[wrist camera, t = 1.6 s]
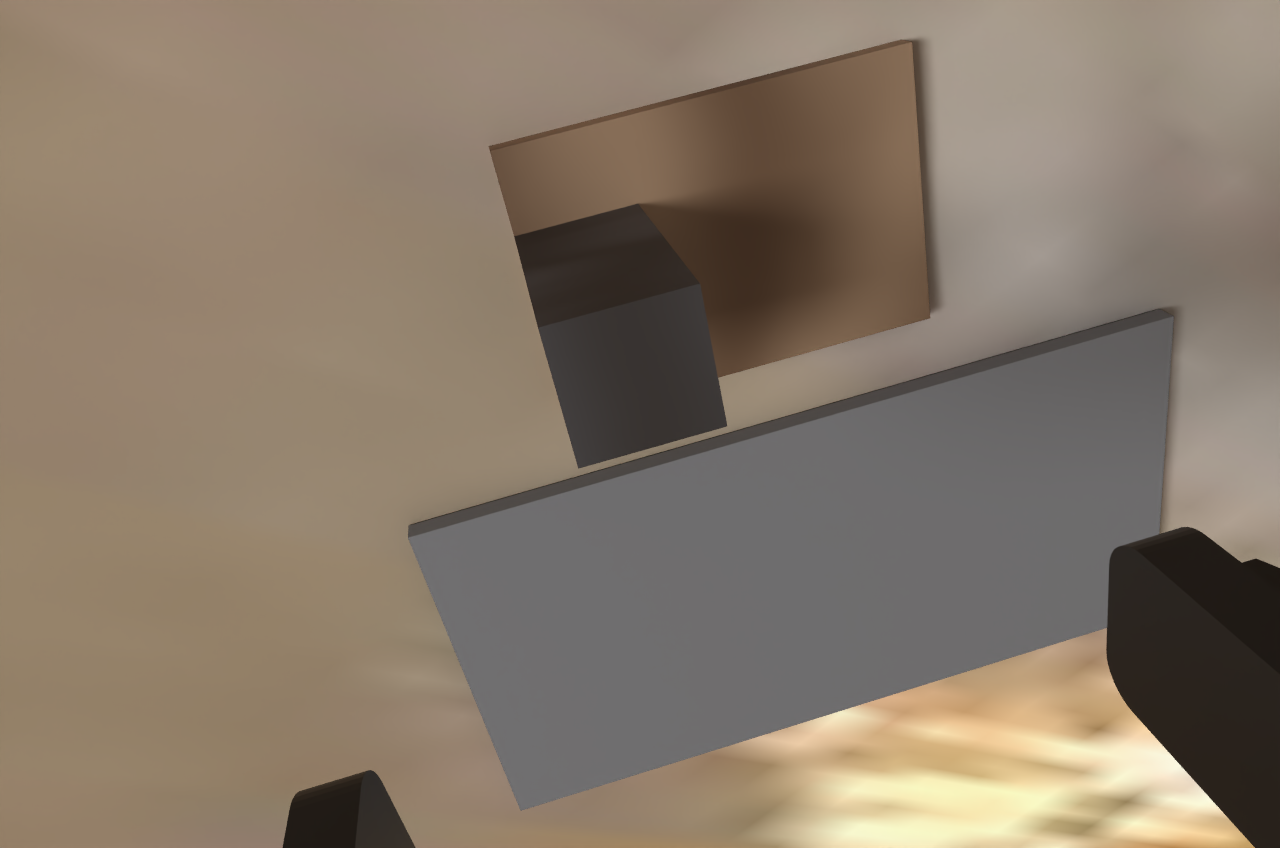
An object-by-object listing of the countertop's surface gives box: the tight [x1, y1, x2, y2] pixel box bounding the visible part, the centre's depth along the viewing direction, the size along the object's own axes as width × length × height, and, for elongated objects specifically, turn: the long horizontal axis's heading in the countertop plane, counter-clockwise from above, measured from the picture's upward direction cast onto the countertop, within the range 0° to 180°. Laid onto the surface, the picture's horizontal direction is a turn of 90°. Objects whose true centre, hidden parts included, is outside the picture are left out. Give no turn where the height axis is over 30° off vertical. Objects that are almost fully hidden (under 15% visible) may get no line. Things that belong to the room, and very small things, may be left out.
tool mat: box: [408, 309, 1174, 810], centre depth 29 cm, size 22×11×1 cm, turn 103°
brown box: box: [489, 40, 930, 468], centre depth 21 cm, size 10×7×7 cm
